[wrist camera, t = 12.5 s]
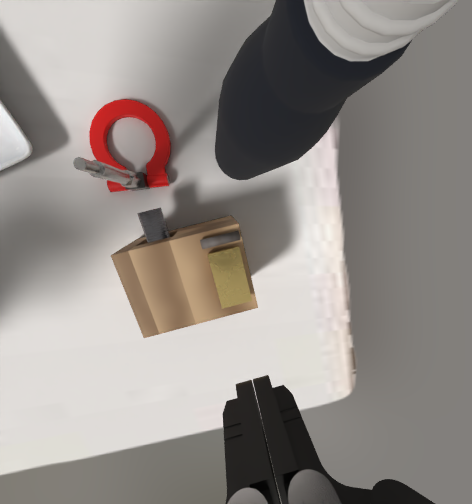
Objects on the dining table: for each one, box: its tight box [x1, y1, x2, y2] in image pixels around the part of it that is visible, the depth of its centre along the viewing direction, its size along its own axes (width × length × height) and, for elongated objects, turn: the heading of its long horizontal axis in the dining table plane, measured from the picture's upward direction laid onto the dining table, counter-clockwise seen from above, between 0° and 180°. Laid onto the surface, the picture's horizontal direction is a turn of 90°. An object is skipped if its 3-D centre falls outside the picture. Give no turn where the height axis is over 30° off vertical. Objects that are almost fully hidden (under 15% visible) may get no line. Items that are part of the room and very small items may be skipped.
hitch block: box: [111, 216, 258, 338], centre depth 25 cm, size 12×9×9 cm
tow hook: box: [73, 99, 171, 192], centre depth 20 cm, size 8×13×9 cm
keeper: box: [207, 246, 252, 309], centre depth 22 cm, size 3×6×1 cm, turn 13°
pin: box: [138, 208, 170, 243], centre depth 25 cm, size 13×5×5 cm, turn 13°
